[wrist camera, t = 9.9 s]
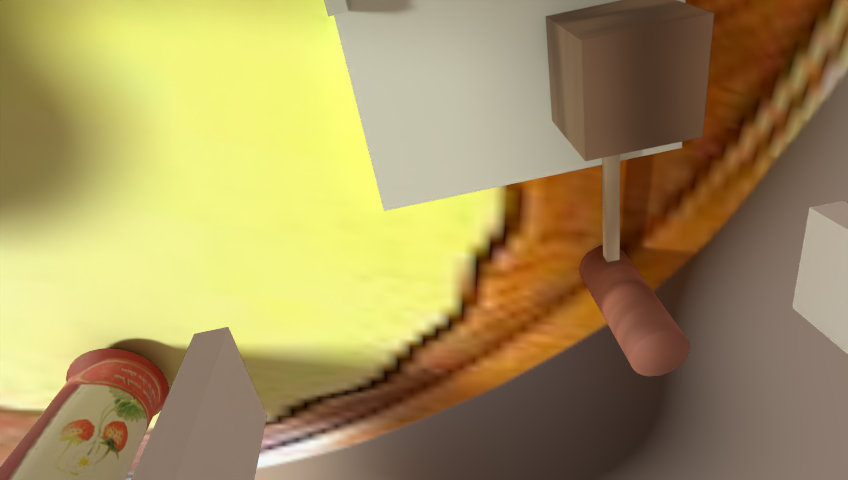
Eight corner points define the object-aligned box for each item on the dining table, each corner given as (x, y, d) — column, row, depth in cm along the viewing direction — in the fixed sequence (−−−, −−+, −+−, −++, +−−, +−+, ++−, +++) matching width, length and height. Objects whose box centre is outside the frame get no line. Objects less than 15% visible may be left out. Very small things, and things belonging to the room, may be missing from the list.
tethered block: (562, 292, 40) (608, 385, 33) (545, 16, 30) (606, 57, 22) (644, 276, 40) (709, 365, 32) (655, -8, 30) (753, 26, 22)
